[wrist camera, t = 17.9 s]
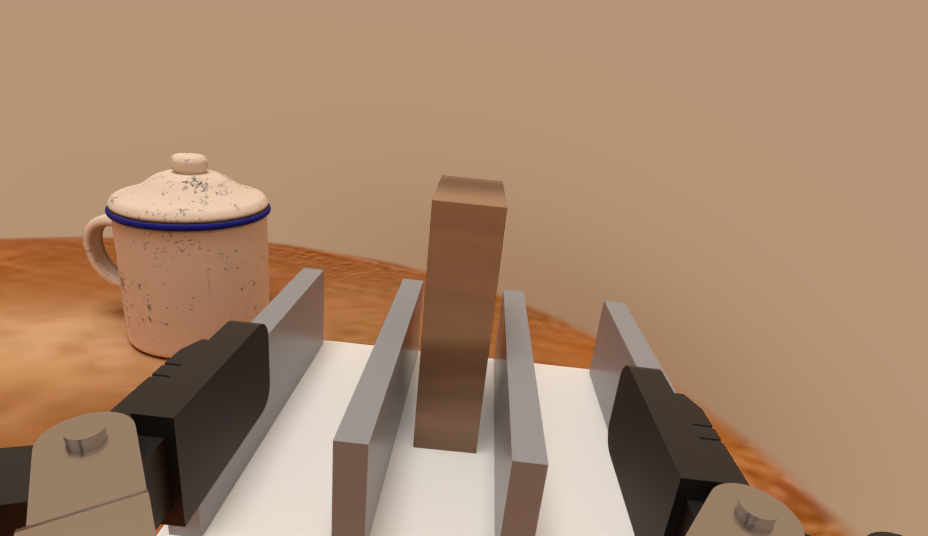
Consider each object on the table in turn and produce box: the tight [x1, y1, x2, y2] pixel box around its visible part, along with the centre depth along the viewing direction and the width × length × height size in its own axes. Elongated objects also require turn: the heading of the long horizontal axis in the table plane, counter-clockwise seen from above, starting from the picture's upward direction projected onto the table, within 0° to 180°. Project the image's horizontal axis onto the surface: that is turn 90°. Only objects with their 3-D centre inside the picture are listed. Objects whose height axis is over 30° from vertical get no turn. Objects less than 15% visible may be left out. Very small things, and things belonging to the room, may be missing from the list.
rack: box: [157, 268, 676, 536], centre depth 26 cm, size 16×20×6 cm
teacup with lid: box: [83, 153, 271, 358], centre depth 34 cm, size 12×9×12 cm
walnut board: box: [413, 175, 507, 454], centre depth 26 cm, size 6×3×12 cm, turn 178°
